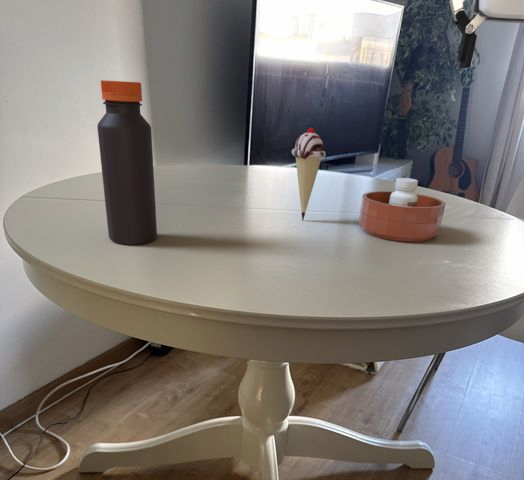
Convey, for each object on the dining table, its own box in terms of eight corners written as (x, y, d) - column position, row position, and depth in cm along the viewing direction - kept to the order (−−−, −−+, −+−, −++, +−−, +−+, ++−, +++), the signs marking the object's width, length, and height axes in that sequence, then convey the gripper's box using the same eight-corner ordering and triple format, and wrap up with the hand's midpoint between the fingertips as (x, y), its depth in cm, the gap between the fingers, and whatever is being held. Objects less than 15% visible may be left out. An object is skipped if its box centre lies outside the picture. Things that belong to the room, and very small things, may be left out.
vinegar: (146, 230, 74) (137, 82, 64) (164, 242, 69) (157, 83, 59) (102, 235, 70) (85, 79, 61) (118, 247, 65) (102, 80, 56)
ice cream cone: (314, 226, 82) (324, 130, 75) (282, 222, 83) (289, 127, 76) (321, 219, 86) (331, 128, 79) (291, 215, 88) (298, 125, 81)
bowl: (426, 225, 87) (433, 193, 84) (447, 245, 75) (456, 210, 72) (353, 220, 87) (358, 189, 84) (363, 240, 75) (368, 204, 73)
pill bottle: (410, 232, 78) (420, 182, 74) (383, 228, 79) (391, 179, 76) (412, 226, 82) (422, 179, 78) (386, 223, 83) (394, 176, 79)
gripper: (477, -99, 58) (444, 65, 66) (622, -92, 58) (571, 72, 66) (458, -80, 64) (430, 67, 73) (588, -73, 64) (545, 74, 72)
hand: (497, 69), depth 69 cm, fingers open, 9 cm apart
